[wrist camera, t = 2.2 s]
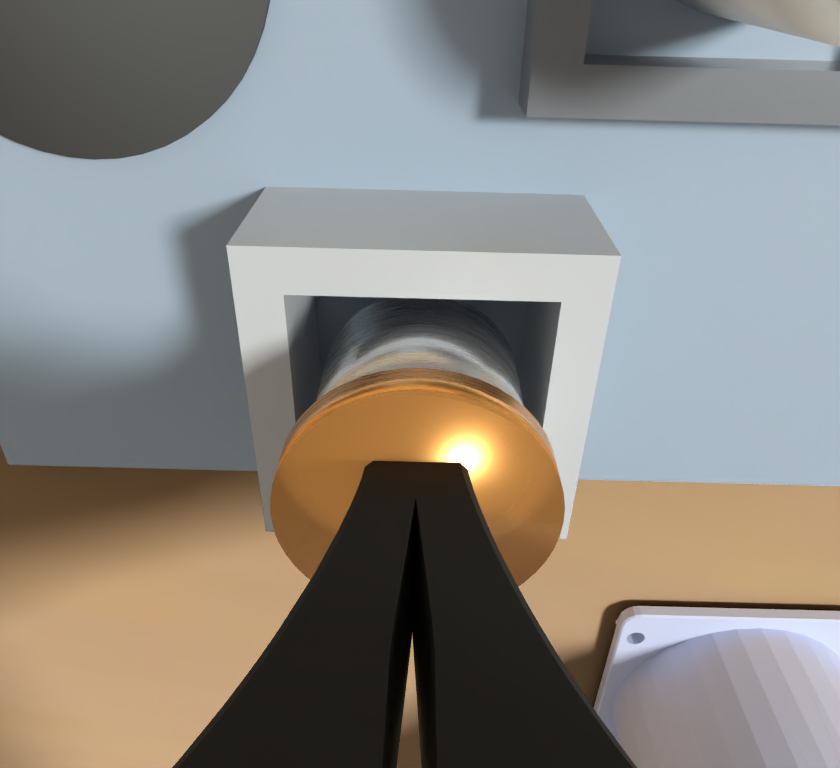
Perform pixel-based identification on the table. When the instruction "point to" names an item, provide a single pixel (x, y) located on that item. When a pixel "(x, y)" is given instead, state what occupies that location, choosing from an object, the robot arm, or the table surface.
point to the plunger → (419, 429)
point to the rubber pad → (120, 70)
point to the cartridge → (780, 16)
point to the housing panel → (452, 241)
